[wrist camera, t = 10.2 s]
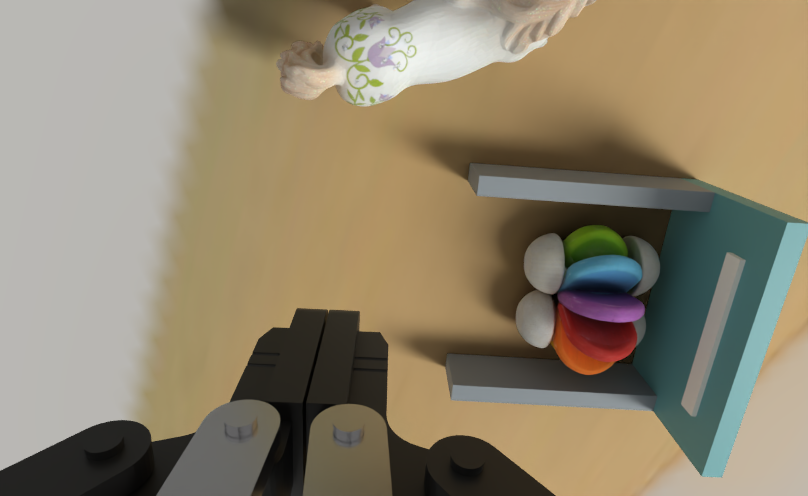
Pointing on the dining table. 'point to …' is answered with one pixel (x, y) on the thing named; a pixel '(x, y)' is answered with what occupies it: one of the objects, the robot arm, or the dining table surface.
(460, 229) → the dining table surface
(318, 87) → the unicorn figurine
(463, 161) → the dining table surface
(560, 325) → the white-wheeled rainbow disc toy
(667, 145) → the dining table surface
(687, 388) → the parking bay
